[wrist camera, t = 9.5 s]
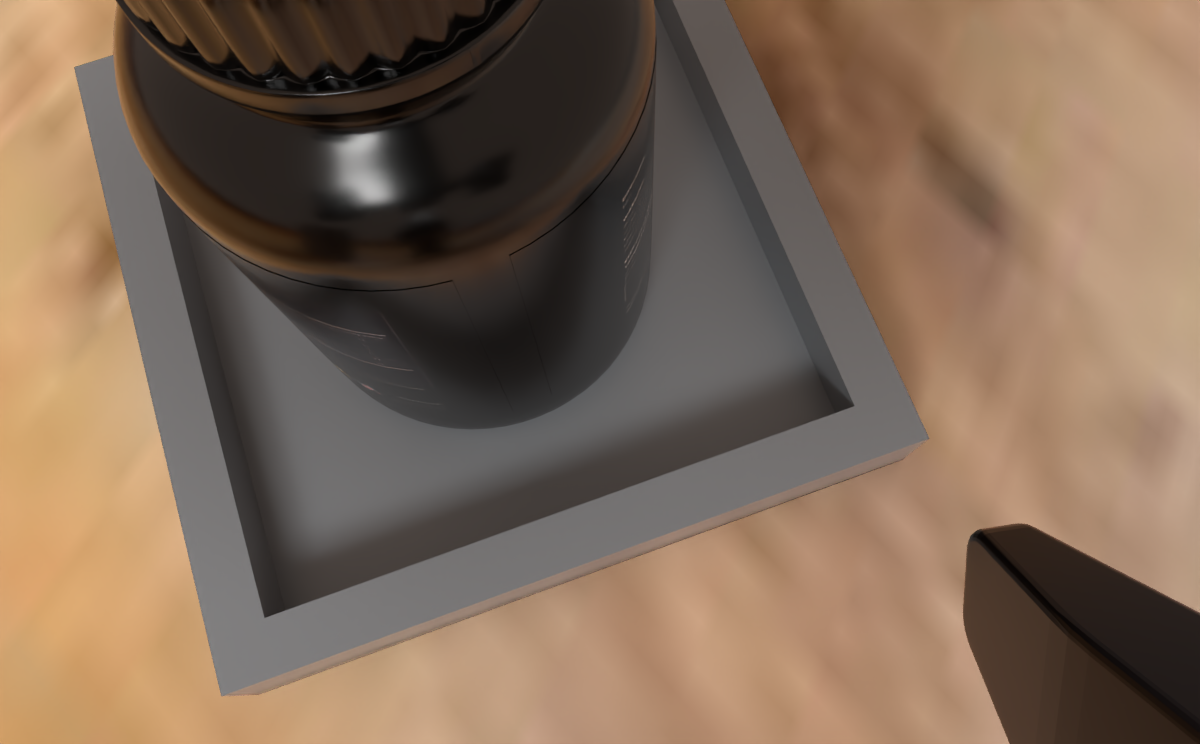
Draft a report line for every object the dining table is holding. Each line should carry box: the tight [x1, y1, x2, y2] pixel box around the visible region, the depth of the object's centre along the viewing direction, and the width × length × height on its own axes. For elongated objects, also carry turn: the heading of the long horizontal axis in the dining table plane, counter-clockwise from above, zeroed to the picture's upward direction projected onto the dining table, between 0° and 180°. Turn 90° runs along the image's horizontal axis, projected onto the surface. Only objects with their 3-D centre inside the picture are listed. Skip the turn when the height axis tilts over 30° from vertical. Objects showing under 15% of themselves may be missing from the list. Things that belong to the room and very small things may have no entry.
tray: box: [74, 0, 929, 696], centre depth 20 cm, size 13×13×2 cm
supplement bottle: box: [113, 0, 657, 429], centre depth 15 cm, size 7×7×12 cm
